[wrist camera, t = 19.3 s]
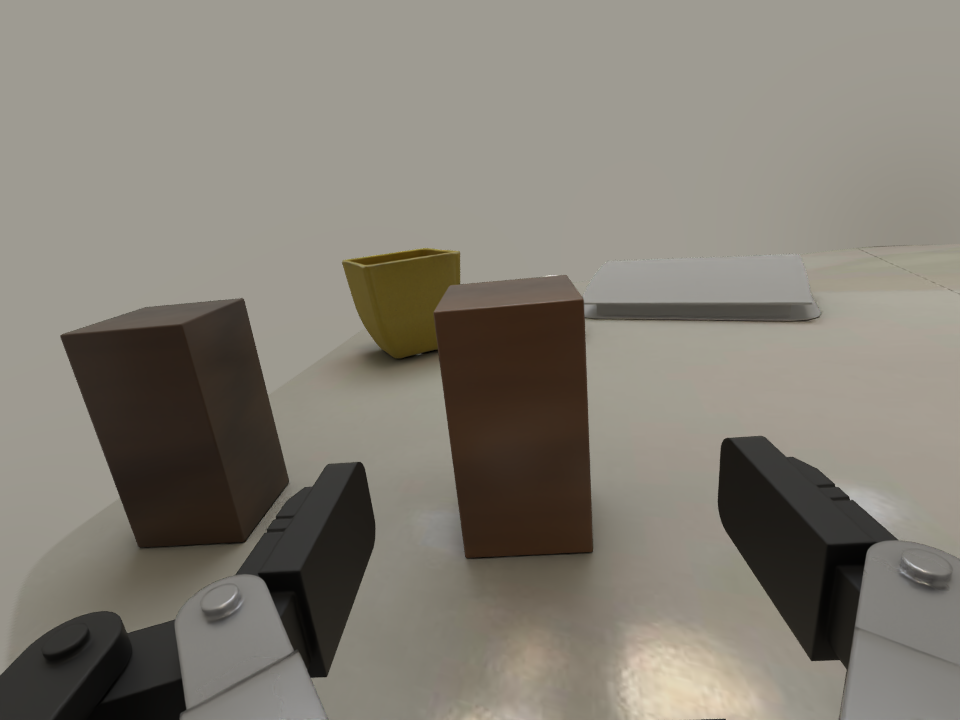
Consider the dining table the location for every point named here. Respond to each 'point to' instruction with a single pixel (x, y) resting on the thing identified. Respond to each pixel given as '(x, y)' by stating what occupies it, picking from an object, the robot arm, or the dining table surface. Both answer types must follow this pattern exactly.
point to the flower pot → (402, 296)
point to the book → (703, 289)
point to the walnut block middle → (517, 414)
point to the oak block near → (182, 419)
